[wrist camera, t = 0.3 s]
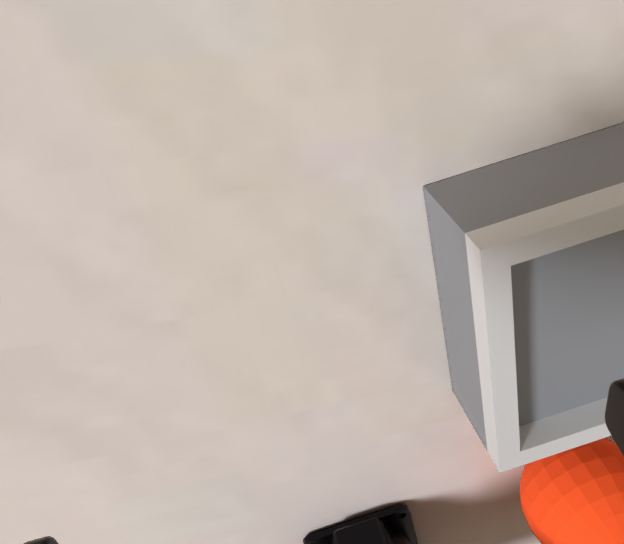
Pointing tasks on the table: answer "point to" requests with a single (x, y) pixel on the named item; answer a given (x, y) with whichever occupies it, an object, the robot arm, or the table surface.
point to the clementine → (576, 495)
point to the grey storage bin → (534, 293)
